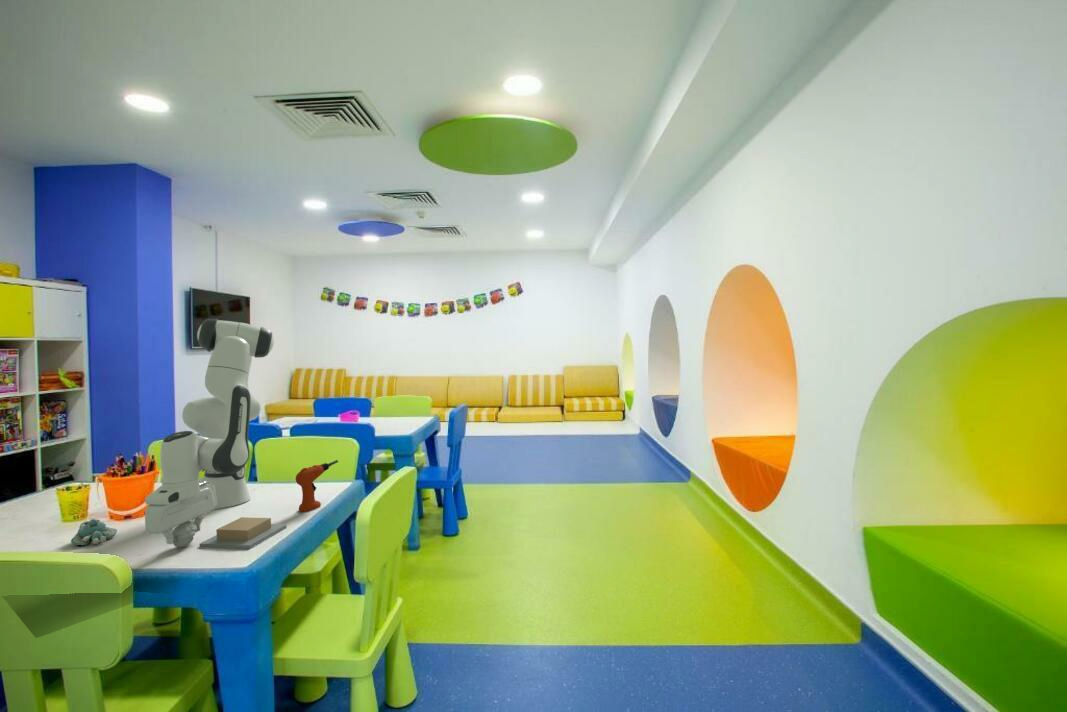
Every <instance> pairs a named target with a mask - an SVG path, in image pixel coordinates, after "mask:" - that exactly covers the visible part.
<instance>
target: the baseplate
mask: <svg viewBox="0 0 1067 712" xmlns="http://www.w3.org/2000/svg"><path fill="white" fill-rule="evenodd" d="M271 520H272V517H239V518H238V519H235V520H233V521H231V522H229V523H227V524H225V525H223V526H221V527H219V528H217V529H216V535H213V536H212V537H210V538H208V539H206V540H204V541H202V542H200V543H199V548H215V549H216V548H217V549H219V548H220V549H238V548H240V550H241V548H243V549H244V550H247V549H248V550H251V549H253V548H254V547H256V546H257V544H258V545H260V544H262V541H263V542H264V540H265V541H266V540H268V539H270V538H272V537H273V536H275V535H277V534H278V533H280V532H282V531H283V530H285V529H287V528H286V527H287V524H285V523H284V524H281V523H277V524H276V523H272V521H271ZM269 537H270V538H269ZM255 545H256V546H255ZM252 547H253V548H252ZM250 548H251V549H250Z"/></svg>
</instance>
